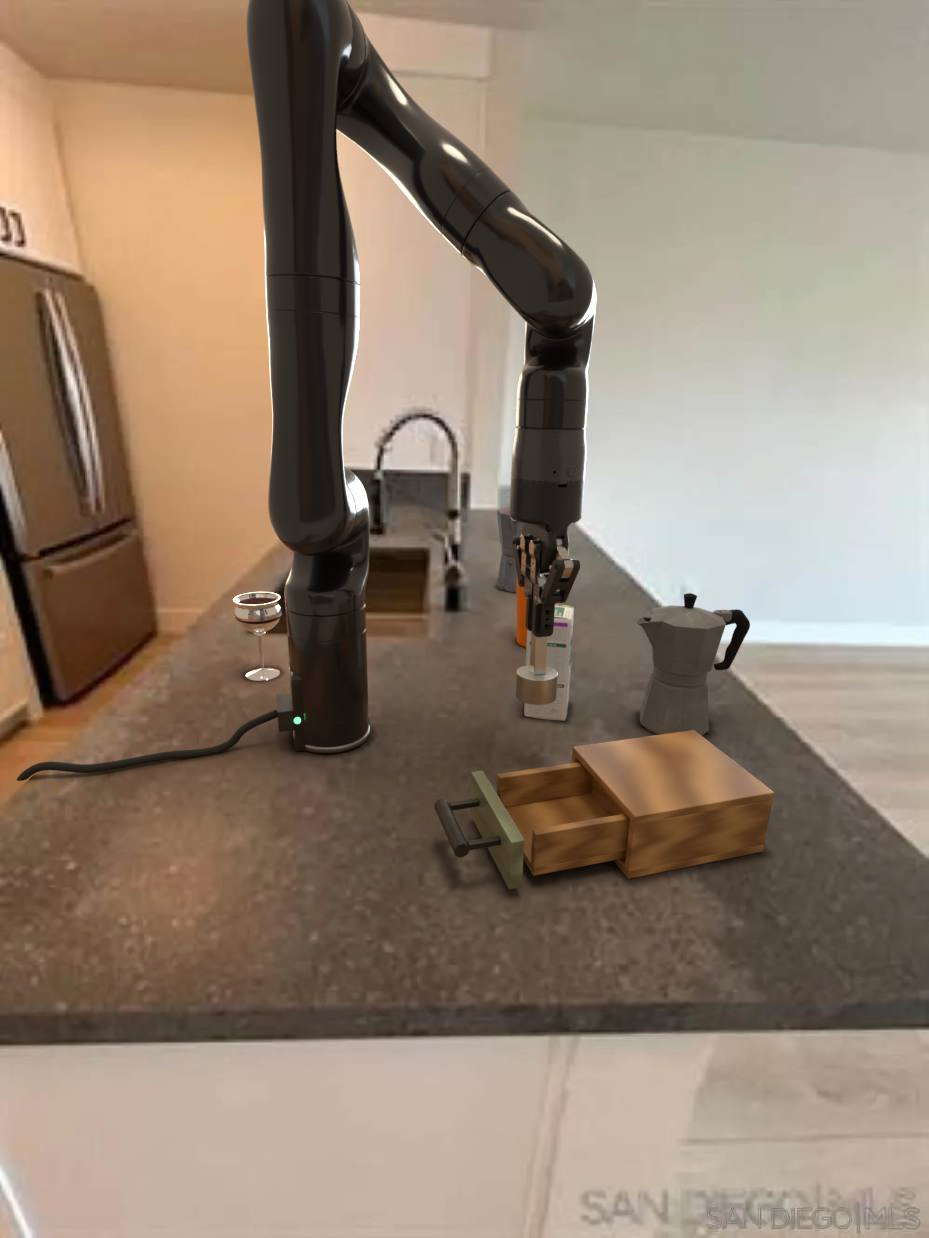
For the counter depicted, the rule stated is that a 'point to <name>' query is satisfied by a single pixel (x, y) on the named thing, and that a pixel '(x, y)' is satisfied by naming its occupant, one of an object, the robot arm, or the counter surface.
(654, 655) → the coffeepot
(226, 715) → the counter surface
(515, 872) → the drawer
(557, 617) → the syrup box
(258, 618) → the wineglass
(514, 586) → the moka pot
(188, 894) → the counter surface
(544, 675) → the post on round base
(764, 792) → the cabinet
